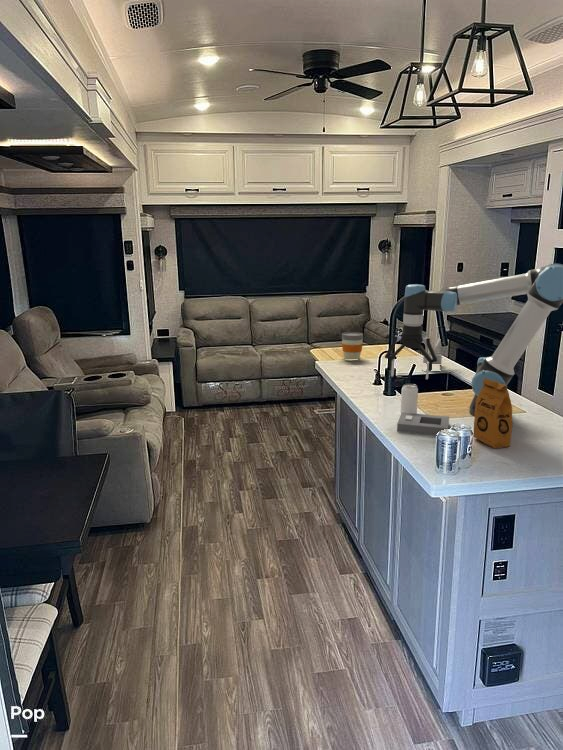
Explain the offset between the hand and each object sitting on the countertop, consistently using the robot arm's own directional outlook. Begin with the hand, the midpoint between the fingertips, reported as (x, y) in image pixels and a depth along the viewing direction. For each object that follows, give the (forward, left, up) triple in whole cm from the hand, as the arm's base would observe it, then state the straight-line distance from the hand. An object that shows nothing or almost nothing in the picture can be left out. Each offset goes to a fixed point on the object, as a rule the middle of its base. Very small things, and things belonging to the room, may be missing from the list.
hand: (409, 377), depth 223 cm
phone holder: (-4, -84, -16) cm, 85 cm away
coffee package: (-31, +24, -16) cm, 43 cm away
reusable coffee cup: (+42, -94, -16) cm, 104 cm away
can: (0, 0, -16) cm, 16 cm away
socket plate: (-7, +15, -16) cm, 23 cm away
